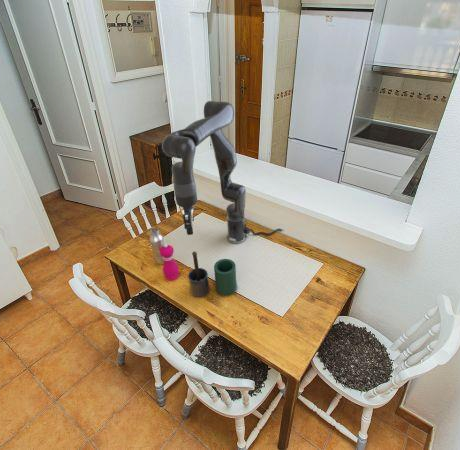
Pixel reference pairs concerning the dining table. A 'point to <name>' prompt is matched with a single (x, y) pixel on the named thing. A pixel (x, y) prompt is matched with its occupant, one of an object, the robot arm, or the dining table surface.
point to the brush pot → (199, 283)
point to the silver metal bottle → (156, 245)
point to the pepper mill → (169, 262)
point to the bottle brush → (196, 266)
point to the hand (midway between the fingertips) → (190, 227)
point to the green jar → (225, 277)
